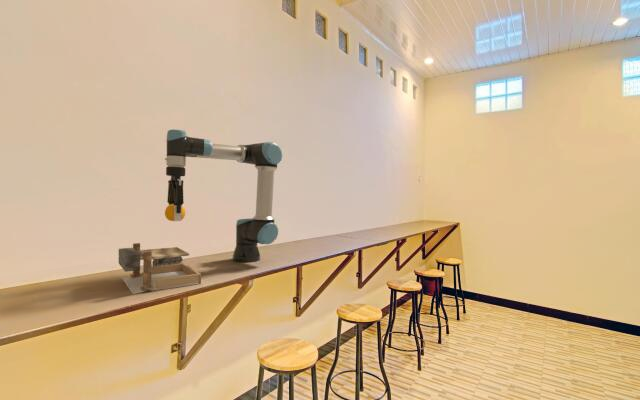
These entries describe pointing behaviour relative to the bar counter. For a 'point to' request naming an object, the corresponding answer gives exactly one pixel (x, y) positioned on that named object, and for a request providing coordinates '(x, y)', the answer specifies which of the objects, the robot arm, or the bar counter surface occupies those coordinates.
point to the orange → (170, 212)
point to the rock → (167, 261)
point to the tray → (166, 278)
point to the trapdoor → (132, 257)
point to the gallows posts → (144, 269)
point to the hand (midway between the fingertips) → (174, 220)
